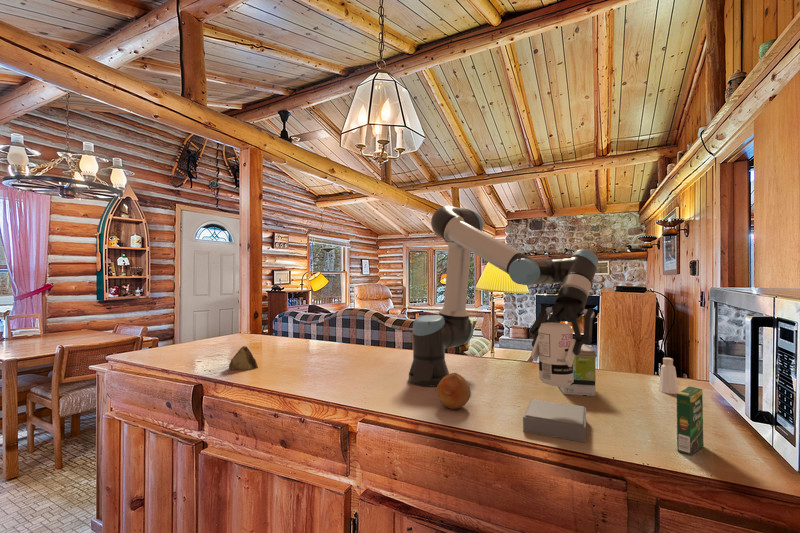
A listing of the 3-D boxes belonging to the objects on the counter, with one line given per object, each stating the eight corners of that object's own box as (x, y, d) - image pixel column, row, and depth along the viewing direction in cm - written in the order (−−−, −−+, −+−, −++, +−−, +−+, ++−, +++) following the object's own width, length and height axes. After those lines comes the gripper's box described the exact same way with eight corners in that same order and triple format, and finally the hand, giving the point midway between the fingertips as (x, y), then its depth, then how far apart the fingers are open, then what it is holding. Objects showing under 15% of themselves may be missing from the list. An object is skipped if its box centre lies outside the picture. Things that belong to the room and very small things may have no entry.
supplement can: (544, 376, 102) (543, 321, 102) (576, 381, 97) (575, 323, 97) (535, 383, 95) (534, 325, 96) (570, 389, 91) (568, 327, 91)
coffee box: (691, 457, 80) (691, 395, 80) (676, 451, 82) (675, 392, 82) (704, 446, 85) (703, 388, 85) (689, 442, 87) (688, 385, 87)
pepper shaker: (657, 388, 127) (657, 355, 127) (677, 390, 124) (677, 357, 124) (659, 392, 122) (658, 358, 122) (679, 395, 119) (679, 360, 120)
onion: (435, 401, 115) (435, 369, 115) (468, 402, 115) (467, 369, 115) (437, 413, 105) (437, 378, 105) (473, 414, 105) (472, 378, 105)
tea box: (597, 396, 119) (596, 350, 119) (563, 395, 121) (562, 349, 121) (583, 383, 133) (583, 341, 133) (553, 381, 135) (553, 340, 136)
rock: (220, 364, 154) (235, 364, 148) (231, 345, 158) (245, 345, 153) (241, 375, 160) (255, 376, 155) (250, 357, 165) (264, 357, 160)
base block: (523, 431, 93) (523, 415, 93) (531, 412, 106) (531, 398, 106) (585, 442, 87) (585, 425, 87) (586, 421, 99) (586, 406, 99)
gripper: (617, 304, 100) (598, 377, 88) (541, 301, 115) (517, 362, 103) (611, 285, 96) (590, 358, 85) (533, 284, 111) (507, 346, 100)
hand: (550, 360), depth 94 cm, fingers closed on supplement can, 8 cm apart
